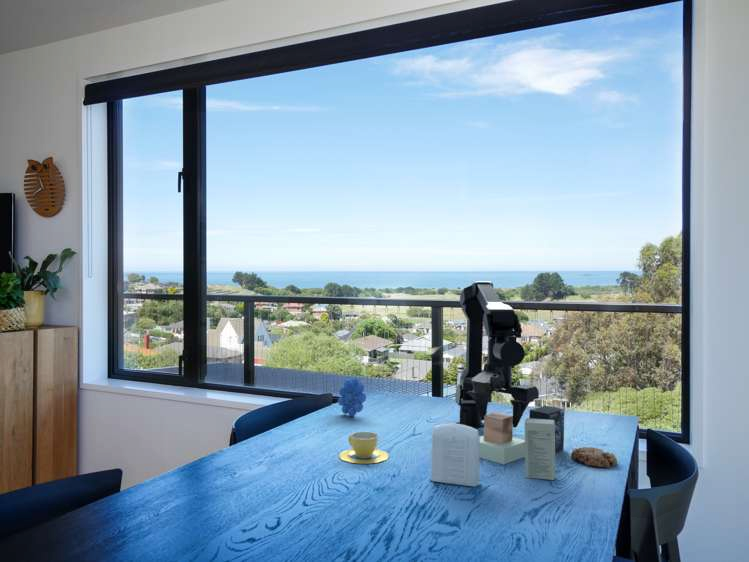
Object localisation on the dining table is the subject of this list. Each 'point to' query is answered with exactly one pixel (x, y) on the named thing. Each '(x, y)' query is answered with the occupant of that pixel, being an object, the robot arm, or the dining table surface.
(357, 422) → the dining table surface
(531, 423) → the skincare box
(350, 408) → the grapes
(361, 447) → the cup
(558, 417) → the box
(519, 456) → the sage base block
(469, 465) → the white gravestone
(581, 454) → the cookie
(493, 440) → the terracotta block
